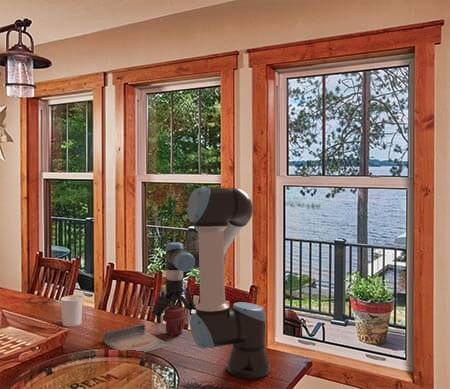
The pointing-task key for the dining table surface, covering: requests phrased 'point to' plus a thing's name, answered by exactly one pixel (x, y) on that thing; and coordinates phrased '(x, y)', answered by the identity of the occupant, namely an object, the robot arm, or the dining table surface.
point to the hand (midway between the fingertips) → (174, 327)
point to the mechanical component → (174, 319)
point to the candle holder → (71, 310)
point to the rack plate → (132, 339)
